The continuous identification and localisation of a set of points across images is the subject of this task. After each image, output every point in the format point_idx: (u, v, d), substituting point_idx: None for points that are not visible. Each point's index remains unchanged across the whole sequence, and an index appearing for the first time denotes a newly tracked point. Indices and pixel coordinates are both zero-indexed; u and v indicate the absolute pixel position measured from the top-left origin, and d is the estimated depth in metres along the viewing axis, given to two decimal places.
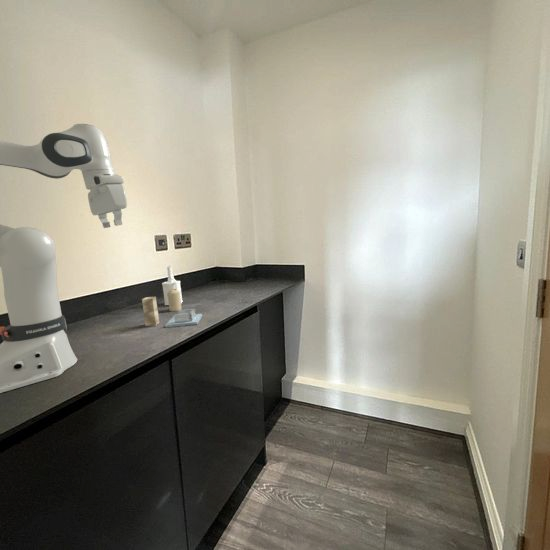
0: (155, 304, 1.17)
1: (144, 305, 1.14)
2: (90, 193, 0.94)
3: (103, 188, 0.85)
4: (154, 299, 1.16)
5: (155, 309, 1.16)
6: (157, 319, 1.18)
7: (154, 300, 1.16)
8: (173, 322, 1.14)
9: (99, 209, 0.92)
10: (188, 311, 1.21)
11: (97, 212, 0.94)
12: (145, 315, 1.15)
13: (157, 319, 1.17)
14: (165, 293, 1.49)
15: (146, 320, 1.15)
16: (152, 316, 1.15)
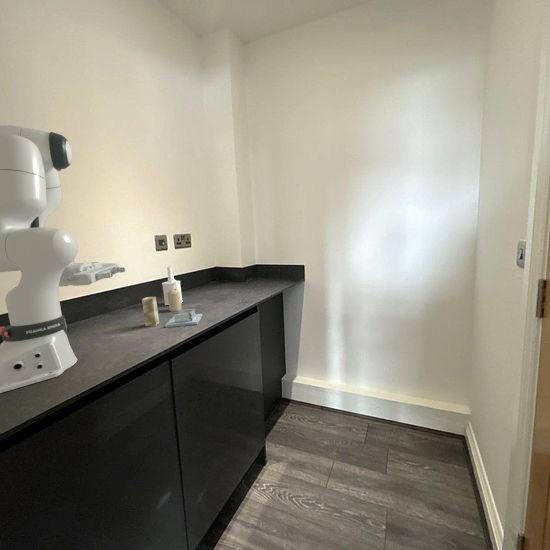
0: (155, 304, 1.17)
1: (144, 305, 1.14)
2: (78, 272, 1.07)
3: (99, 264, 1.19)
4: (154, 299, 1.16)
5: (155, 309, 1.16)
6: (157, 319, 1.18)
7: (154, 300, 1.16)
8: (173, 322, 1.14)
9: (99, 269, 1.11)
10: (188, 311, 1.21)
11: (97, 270, 1.08)
12: (145, 315, 1.15)
13: (157, 319, 1.17)
14: (165, 293, 1.49)
15: (146, 320, 1.15)
16: (152, 316, 1.15)
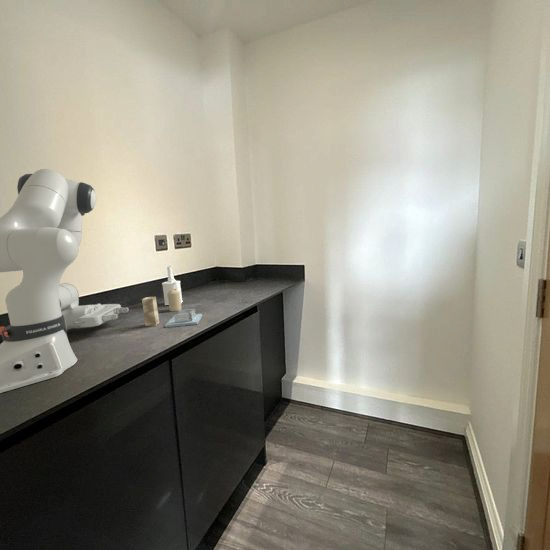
0: (155, 304, 1.17)
1: (144, 305, 1.14)
2: (83, 315, 1.09)
3: (102, 305, 1.21)
4: (154, 299, 1.16)
5: (155, 309, 1.16)
6: (157, 319, 1.18)
7: (154, 300, 1.16)
8: (173, 322, 1.14)
9: (104, 311, 1.13)
10: (188, 311, 1.21)
11: (103, 312, 1.11)
12: (145, 315, 1.15)
13: (157, 319, 1.17)
14: (165, 293, 1.49)
15: (146, 320, 1.15)
16: (152, 316, 1.15)
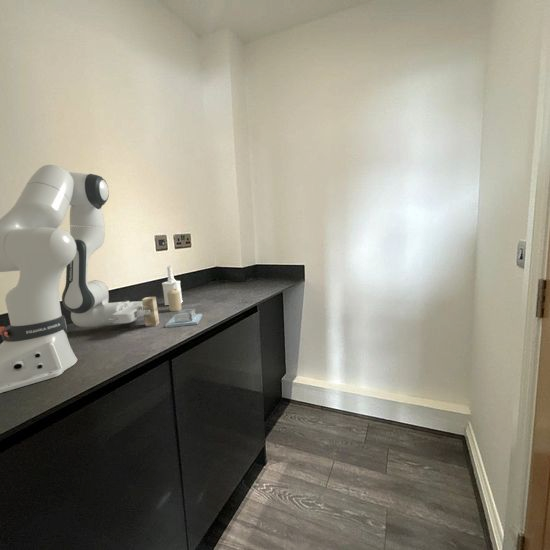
0: (155, 304, 1.17)
1: (144, 305, 1.14)
2: (116, 312, 1.10)
3: (130, 302, 1.22)
4: (154, 299, 1.16)
5: (155, 309, 1.16)
6: (157, 319, 1.18)
7: (154, 300, 1.16)
8: (173, 322, 1.14)
9: (135, 308, 1.14)
10: (188, 311, 1.21)
11: (134, 309, 1.12)
12: (145, 315, 1.15)
13: (157, 319, 1.17)
14: (165, 293, 1.49)
15: (146, 320, 1.15)
16: (152, 316, 1.15)
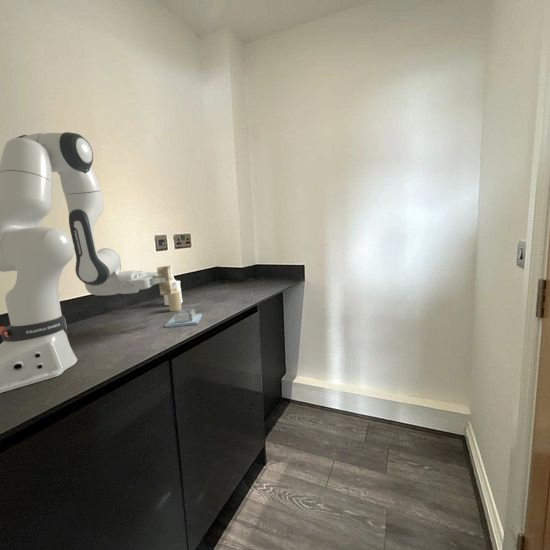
0: (169, 273, 1.16)
1: (159, 273, 1.13)
2: (131, 279, 1.09)
3: (144, 273, 1.21)
4: (169, 268, 1.15)
5: (170, 278, 1.15)
6: (171, 288, 1.17)
7: (169, 269, 1.15)
8: (173, 322, 1.14)
9: (150, 276, 1.13)
10: (188, 311, 1.21)
11: (149, 277, 1.11)
12: (160, 283, 1.14)
13: (171, 288, 1.16)
14: None
15: (161, 289, 1.14)
16: (167, 285, 1.14)
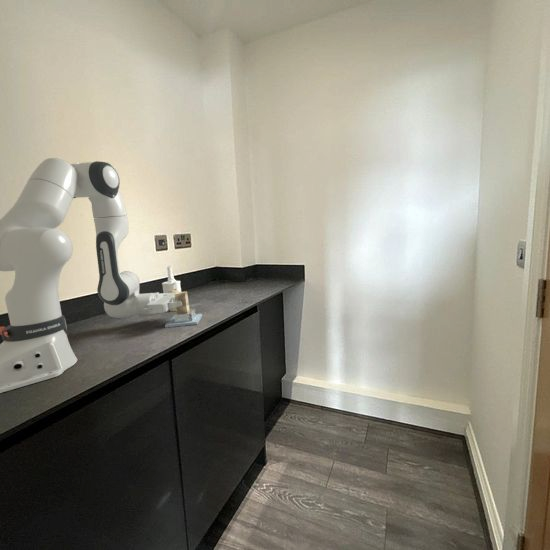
0: (187, 299, 1.17)
1: (177, 299, 1.15)
2: (149, 302, 1.10)
3: (161, 294, 1.23)
4: (186, 294, 1.17)
5: (187, 304, 1.17)
6: None
7: (186, 295, 1.17)
8: (173, 322, 1.14)
9: (167, 299, 1.14)
10: None
11: (167, 300, 1.12)
12: (177, 309, 1.15)
13: None
14: None
15: None
16: (184, 310, 1.16)
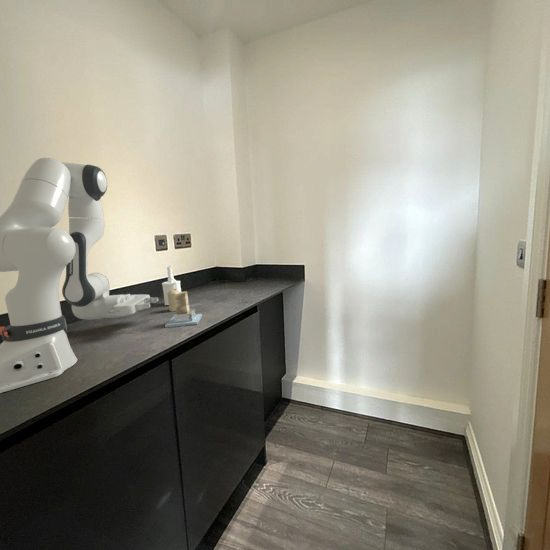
0: (187, 299, 1.17)
1: (177, 299, 1.15)
2: (117, 304, 1.09)
3: (131, 295, 1.22)
4: (186, 294, 1.17)
5: (187, 304, 1.17)
6: None
7: (186, 295, 1.17)
8: (173, 322, 1.14)
9: (136, 300, 1.13)
10: None
11: (135, 302, 1.11)
12: (177, 309, 1.15)
13: None
14: (165, 293, 1.49)
15: None
16: (184, 310, 1.16)
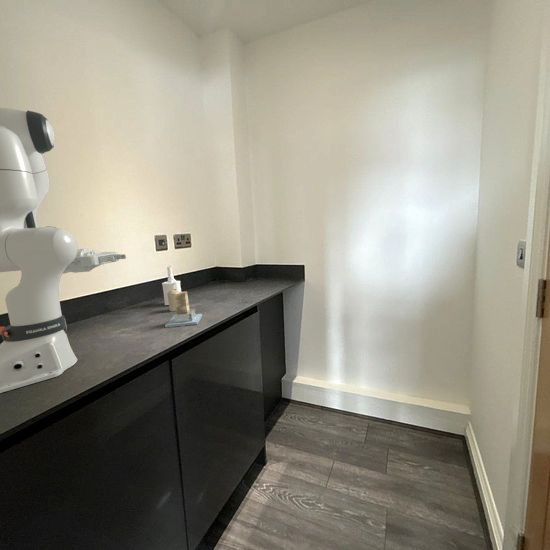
0: (187, 299, 1.17)
1: (177, 299, 1.15)
2: (79, 256, 1.05)
3: (98, 252, 1.18)
4: (186, 294, 1.17)
5: (187, 304, 1.17)
6: None
7: (186, 295, 1.17)
8: (173, 322, 1.14)
9: (101, 254, 1.09)
10: None
11: (99, 254, 1.07)
12: (177, 309, 1.15)
13: None
14: (165, 293, 1.49)
15: None
16: (184, 310, 1.16)
